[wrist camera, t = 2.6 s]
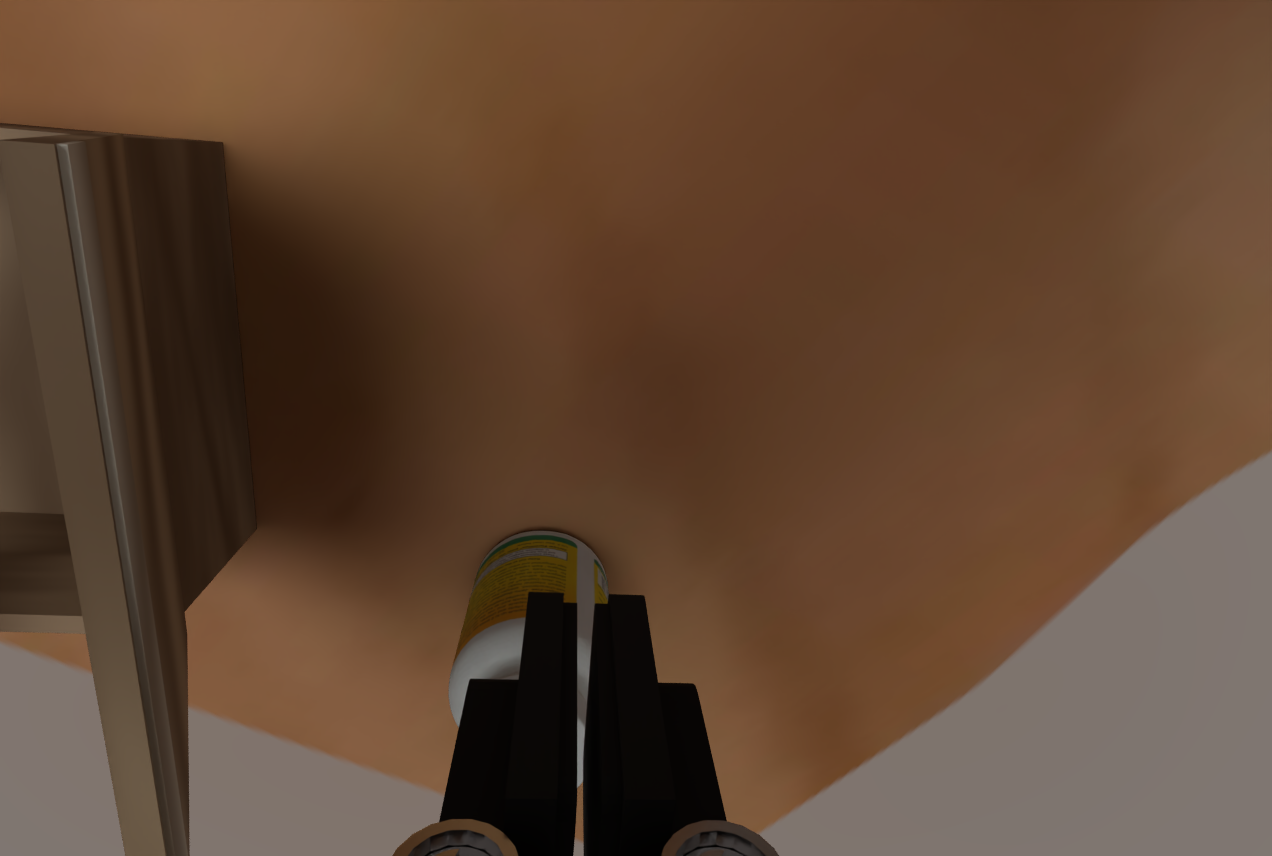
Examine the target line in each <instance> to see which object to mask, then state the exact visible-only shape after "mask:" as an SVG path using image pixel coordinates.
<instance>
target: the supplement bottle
mask: <svg viewBox="0 0 1272 856" xmlns="http://www.w3.org/2000/svg"><path fill="white" fill-rule="evenodd" d="M528 592H557V593H564V602H570V603H577V787H579V785H580V784H581V783H582V782H583V751H584V736H585V723H586V709H587V696H588V683H589V669H590V656H591V643H592V629H593V616H594V605H595V603H601V604H607V603H608V596H609V593H608V582H607V577H606V574H605V571H604V568H603V566H602V564H601V562H600V560H599V559H598V557H597V556H596V555H595V554H594V552H593V551H592V550H591V549H590V548H589V547H587V546H586V545H585V544H584V543H582V542H581V541H579V540H577V539H576V538H574V537H571V536H569V535H567V534H564V533H558V532H552V531H529V532H523V533H519V534H516V535H514V536H511V537H509V538H507V539H505V540H504V541H502V542H501V543H499V544H498V545H497V546H495V547H494V548H493V549H492V550H491V551H490V552H489V553H488V554H487V556H486V557H485V558H484V560H483V561H482V563H481V565H480V567H479V570H478V572H477V576H476V579H475V582H474V586H473V590H472V593H471V597H470V600H469V605H468V609H467V613H466V616H465V620H464V624H463V628H462V632H461V636H460V639H459V643H458V647H457V651H456V655H455V659H454V663H453V666H452V670H451V674H450V681H449V702H450V708H451V711H452V714H453V717H454V719H455V722H456V723H457V725H458V727H459V725H460V720H461V715H462V710H463V706H464V701H465V696H466V691H467V687H468V683H469V680H470V679H512V680H518V679H519V671H520V662H521V653H522V644H523V635H524V627H525V618H526V609H527V600H528Z"/></svg>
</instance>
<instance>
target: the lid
mask: <svg viewBox="0 0 1272 856" xmlns="http://www.w3.org/2000/svg"><path fill="white" fill-rule="evenodd" d="M0 160H1V166H2V171H3V177H4V182H5V188H6V193H7V199H8V205H9V210H10V216H11V221H12V227H13V232H14V238H15V244H16V249H17V255H18V260H19V266H20V271H21V277H22V283H23V288H24V294H25V299H26V305H27V310H28V316H29V322H30V327H31V333H32V338H33V344H34V349H35V355H36V361H37V366H38V372H39V377H40V383H41V388H42V394H43V400H44V405H45V411H46V416H47V422H48V427H49V433H50V439H51V444H52V450H53V455H54V461H55V466H56V472H57V478H58V483H59V489H60V494H61V500H62V505H63V511H64V517H65V522H66V528H67V533H68V539H69V544H70V550H71V556H72V561H73V567H74V572H75V578H76V583H77V589H78V594H79V600H80V606H81V611H82V617H83V622H84V628H85V633H86V639H87V645H88V650H89V656H90V661H91V667H92V672H93V678H94V684H95V689H96V695H97V700H98V705H99V711H100V716H101V723H102V728H103V734H104V739H105V745H106V750H107V756H108V762H109V767H110V773H111V778H112V784H113V789H114V795H115V800H116V806H117V811H118V817H119V823H120V828H121V834H122V840H123V845H124V851H125V856H190V855H189V763H188V663H187V629H186V621H185V613H184V605H183V598H182V590H181V582H180V574H179V567H178V559H177V551H176V543H175V535H174V528H173V520H172V512H171V504H170V496H169V489H168V481H167V473H166V465H165V458H164V450H163V442H162V434H161V426H160V419H159V411H158V403H157V395H156V387H155V380H154V372H153V364H152V356H151V349H150V341H149V333H148V325H147V317H146V310H145V302H144V294H143V286H142V278H141V271H140V263H139V255H138V247H137V239H136V232H135V224H134V216H133V208H132V201H131V193H130V185H129V177H128V169H127V162H126V154H125V146H124V138H123V134H117V133H105V132H91V133H78V134H66V135H54V136H41V137H29V138H17V139H4V140H0Z"/></svg>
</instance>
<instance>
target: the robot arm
mask: <svg viewBox="0 0 1272 856" xmlns="http://www.w3.org/2000/svg"><path fill="white" fill-rule="evenodd" d="M576 807H577V603H570V602H564V593H557V592H528V600H527V609H526V618H525V627H524V635H523V644H522V653H521V662H520V671H519V679H518V680H512V679H470V680H469V683H468V687H467V691H466V696H465V701H464V706H463V710H462V715H461V720H460V725H459V730H458V734H457V739H456V744H455V749H454V754H453V758H452V763H451V768H450V773H449V777H448V782H447V787H446V792H445V797H444V802H443V806H442V811H441V816H440V821H439V823H435V824H431V825H429V826H427V827H425V828H424V829H422V830H420V831H418V832H416V833H414V834H412V835H411V836H410V837H409V838H408V839H407V840H406V841H405V842H404V843H402V844H401V845H400V846H399V847H398V848H397V849H396V851H395V853H394V854H393V856H573V850H574V838H575V824H576ZM583 826H584V856H779V855H778V854H777V852H776V851H775V849H774V848H773V847H772V846H771V845H770V844H769V843H767V841H765V840H764V839H763V838H762V837H761V836H760V835H758V834H757V833H755V832H753V831H751V830H749V829H747V828H746V827H744V826H742V825H738V824H734V823H731V822H727V820H726V816H725V812H724V807H723V803H722V798H721V794H720V789H719V785H718V780H717V776H716V772H715V767H714V763H713V758H712V754H711V749H710V745H709V741H708V736H707V732H706V727H705V723H704V718H703V714H702V710H701V705H700V701H699V696H698V692H697V689H696V686H695V685H694V684H691V683H658V680H657V674H656V667H655V661H654V654H653V648H652V641H651V635H650V628H649V622H648V615H647V609H646V602H645V597H644V596H643V595H617V594H609V596H608V603H607V604H601V603H595V605H594V616H593V629H592V643H591V656H590V669H589V683H588V696H587V709H586V723H585V736H584V751H583Z"/></svg>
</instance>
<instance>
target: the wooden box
mask: <svg viewBox="0 0 1272 856" xmlns="http://www.w3.org/2000/svg"><path fill="white" fill-rule="evenodd" d="M91 132H97V131H85V130H74V129H62V128H51V127H39V126H27V125H16V124H4V123H0V140H4V139H17V138H29V137H41V136H54V135H66V134H78V133H91ZM105 133H108V132H105ZM117 134H120V133H117ZM123 138H124V146H125V154H126V162H127V169H128V177H129V185H130V193H131V201H132V208H133V216H134V224H135V232H136V239H137V247H138V255H139V263H140V271H141V278H142V286H143V294H144V302H145V310H146V317H147V325H148V333H149V341H150V349H151V356H152V364H153V372H154V380H155V387H156V395H157V403H158V411H159V419H160V426H161V434H162V442H163V450H164V458H165V465H166V473H167V481H168V489H169V496H170V504H171V512H172V520H173V528H174V535H175V543H176V551H177V559H178V567H179V574H180V582H181V590H182V598H183V605H184V612H185V611H186V610H187V608H188V607H189V606H190V605H191V604H192V603H193V601H194V600H195V599H196V598H197V597H198V596H199V595H200V593H201V592H202V591H203V590H204V589H205V588H206V587H207V585H208V584H209V583H210V582H211V581H212V580H213V578H214V577H215V576H216V575H217V574H218V573H219V572H220V570H221V569H222V568H223V567H224V566H225V565H226V564H227V562H228V561H229V560H230V559H231V558H232V557H233V555H234V554H235V553H236V552H237V551H238V550H239V549H240V547H241V546H242V545H243V544H244V543H245V542H246V541H247V539H248V538H249V537H250V536H251V535H252V534H253V533H254V531H255V530H256V529H257V527H256V515H255V504H254V493H253V481H252V470H251V459H250V448H249V436H248V425H247V414H246V403H245V391H244V380H243V369H242V358H241V346H240V335H239V324H238V312H237V301H236V290H235V279H234V267H233V256H232V245H231V234H230V222H229V211H228V200H227V188H226V177H225V166H224V155H223V143H222V142H212V141H201V140H189V139H177V138H166V137H154V136H143V135H131V134H123ZM0 631H3V632H40V633H77V634H86V633H85V628H84V622H83V617H82V611H81V606H80V600H79V594H78V589H77V583H76V578H75V572H74V567H73V561H72V556H71V550H70V544H69V539H68V533H67V528H66V522H65V517H64V511H63V505H62V500H61V494H60V489H59V483H58V478H57V472H56V466H55V461H54V455H53V450H52V444H51V439H50V433H49V427H48V422H47V416H46V411H45V405H44V400H43V394H42V388H41V383H40V377H39V372H38V366H37V361H36V355H35V349H34V344H33V338H32V333H31V327H30V322H29V316H28V310H27V305H26V299H25V294H24V288H23V283H22V277H21V271H20V266H19V260H18V255H17V249H16V244H15V238H14V232H13V227H12V221H11V216H10V210H9V205H8V199H7V193H6V188H5V182H4V177H3V171H2V166H1V160H0Z"/></svg>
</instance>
